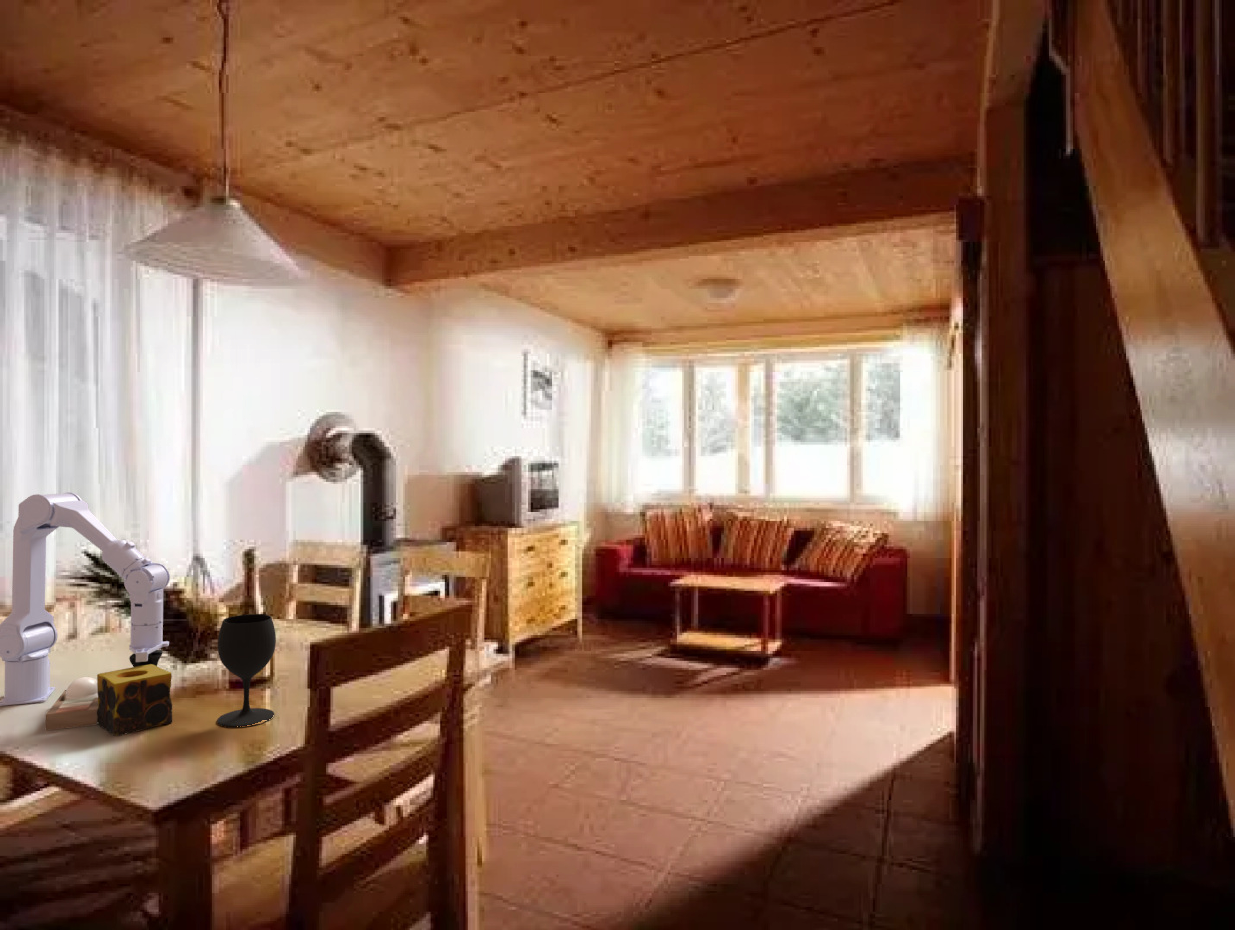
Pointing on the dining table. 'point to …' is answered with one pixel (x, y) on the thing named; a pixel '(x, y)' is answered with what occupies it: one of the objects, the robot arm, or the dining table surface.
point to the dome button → (82, 688)
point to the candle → (134, 699)
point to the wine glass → (246, 660)
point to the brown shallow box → (72, 713)
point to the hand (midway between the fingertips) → (146, 687)
